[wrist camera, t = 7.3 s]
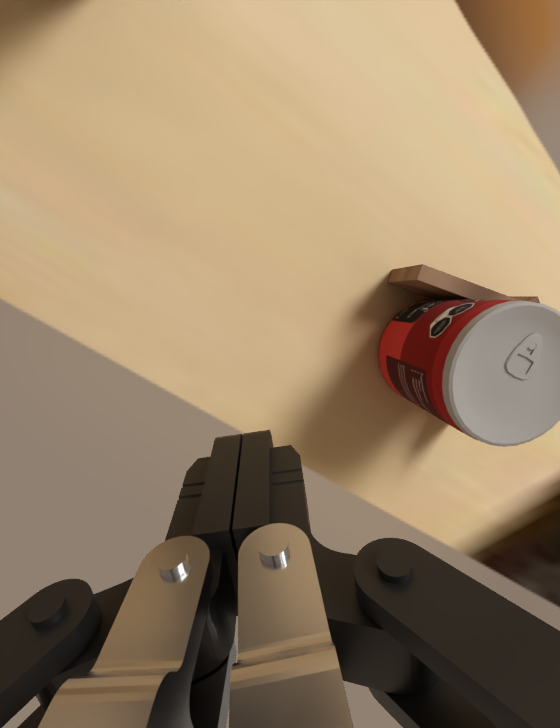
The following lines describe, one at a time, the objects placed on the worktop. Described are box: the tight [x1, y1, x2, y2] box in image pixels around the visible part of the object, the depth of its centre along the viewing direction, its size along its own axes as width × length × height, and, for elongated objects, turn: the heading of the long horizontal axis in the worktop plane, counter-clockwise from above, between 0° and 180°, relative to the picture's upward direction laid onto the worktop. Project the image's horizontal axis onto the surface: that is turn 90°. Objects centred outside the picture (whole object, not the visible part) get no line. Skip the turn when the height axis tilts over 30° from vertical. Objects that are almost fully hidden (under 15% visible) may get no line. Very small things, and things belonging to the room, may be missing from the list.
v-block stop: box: [388, 264, 540, 303], centre depth 29 cm, size 13×7×5 cm, turn 27°
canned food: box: [378, 300, 560, 447], centre depth 26 cm, size 8×8×11 cm
